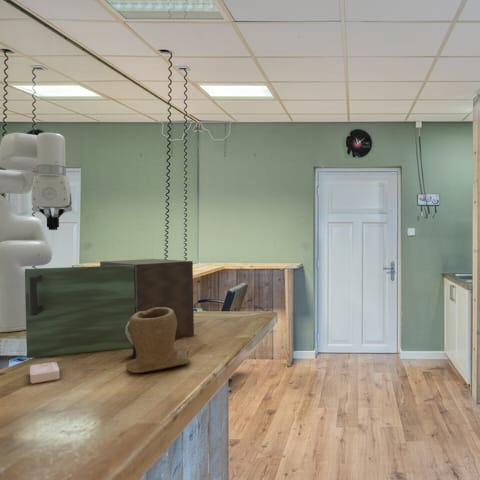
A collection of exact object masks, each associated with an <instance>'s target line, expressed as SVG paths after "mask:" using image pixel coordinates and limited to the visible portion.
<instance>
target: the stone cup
mask: <svg viewBox="0 0 480 480" xmlns="http://www.w3.org/2000/svg"><path fill="white" fill-rule="evenodd" d="M176 328H177V319H176V315H175V313H174V311H173V310H172V309H170V308H167V307H156V308H152V309H149V310H147V311H139V312H137V313H135V314H134V315H133V316H132V317H131V318H130V336H131V339H132V342H133V344H134V347H135V349H136V356H137V357H136V359H133V358H132V359H130V360H129V361H127V362H126V364H125V366H124V367H125V370H126V371H128V372H130V373H134V374H140V373H148V372H155V371H160V370H165V369H170V368H175V367H180V366H184V365H188V364H189V353H190V349H189V348H182V349H175V340H176V339H175V334H176Z"/></svg>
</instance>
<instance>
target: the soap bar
mask: <svg viewBox="0 0 480 480" xmlns="http://www.w3.org/2000/svg"><path fill="white" fill-rule="evenodd" d="M29 379H30V384H33V385H34V384H39V383H45V382H52V381H58V380H59V379H60V368H59V365H58V362H56V361H51V362H43V363H36V364H31V365H30V366H29Z"/></svg>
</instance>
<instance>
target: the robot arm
mask: <svg viewBox="0 0 480 480" xmlns="http://www.w3.org/2000/svg"><path fill="white" fill-rule="evenodd" d="M66 163H67V162H66V138H65V136H64V135H62V134H60V133H56V132H40V133H38V134H37V135H36V134H31V133H22V132H11V133H7V134H5V135H4V136H3V137H2V138H1V141H0V168H1V169H0V333H10V332H21V331H26V301H25V270H24V269H23V268H25V267H38V266H40V267H41V266H46V265H48V264H49V263H51V261H52V259H53V250H52V246H51V243H50V240H49V237H48V234H47V231H46V228H48V231H57V230H58V228H60V217H61V216H62V215H64V214H65V213H69V212H72V211H73V206H72V202H73V199H72V191H71V190H72V189H71V184H70V179H69V177H68V176H67V170H66V169H67V168H66V167H67V166H66ZM29 193H31V205H32V208H31V209H32V212H38V213H41V215H43V216H44V217H45V218H46V228H45V225H44V223H43V221H42V220H41V219H40V218H38V217H37V216H32V215H18V214H17V213H16V211H15V208H14V206H13V203H11V202H10V201H9V199H7V198H6V197H4V196H3V195H1V194H15V195H17V194H18V195H26V194H29ZM52 209H53V213H52Z"/></svg>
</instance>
